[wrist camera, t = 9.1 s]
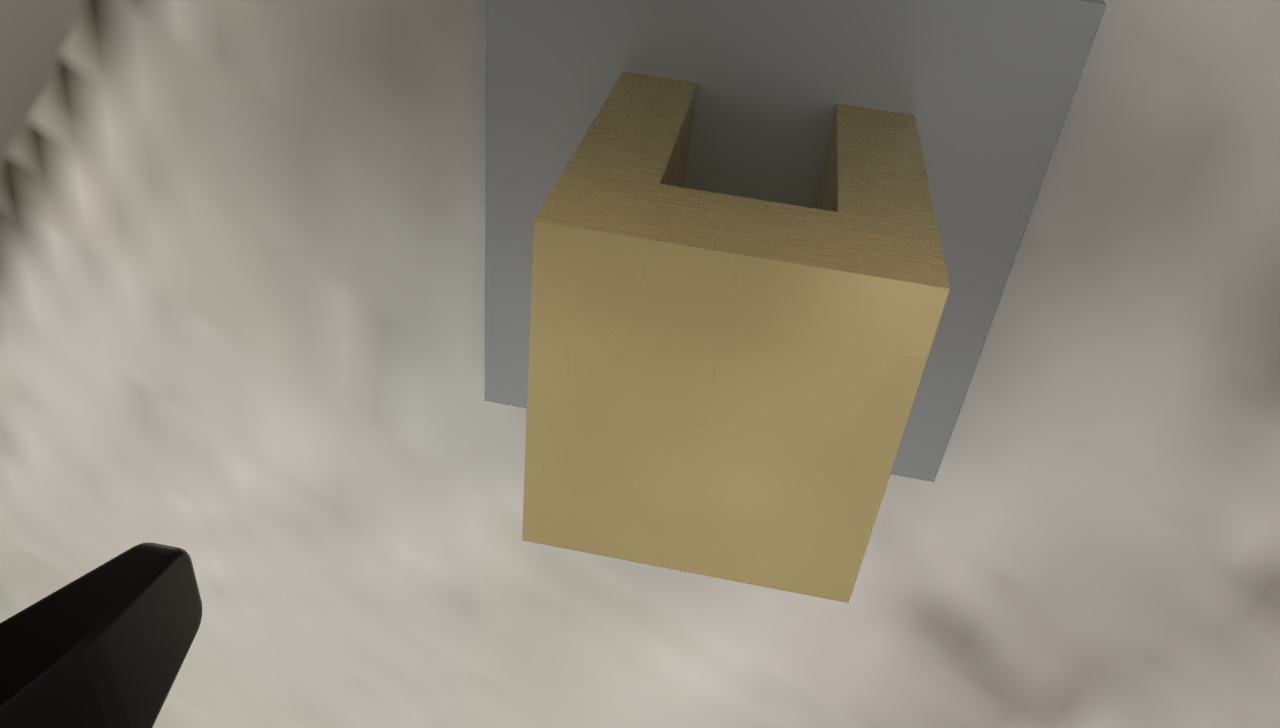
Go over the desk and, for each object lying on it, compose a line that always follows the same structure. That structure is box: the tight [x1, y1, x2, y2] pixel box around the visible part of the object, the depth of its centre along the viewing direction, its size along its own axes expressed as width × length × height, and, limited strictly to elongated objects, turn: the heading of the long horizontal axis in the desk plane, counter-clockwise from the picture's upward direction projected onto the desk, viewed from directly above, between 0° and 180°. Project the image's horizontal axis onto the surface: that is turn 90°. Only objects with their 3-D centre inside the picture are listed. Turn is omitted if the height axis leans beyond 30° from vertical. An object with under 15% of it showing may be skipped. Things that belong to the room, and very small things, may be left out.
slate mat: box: [485, 0, 1106, 482], centre depth 17 cm, size 9×9×1 cm
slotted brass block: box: [523, 72, 950, 603], centre depth 14 cm, size 5×5×6 cm
